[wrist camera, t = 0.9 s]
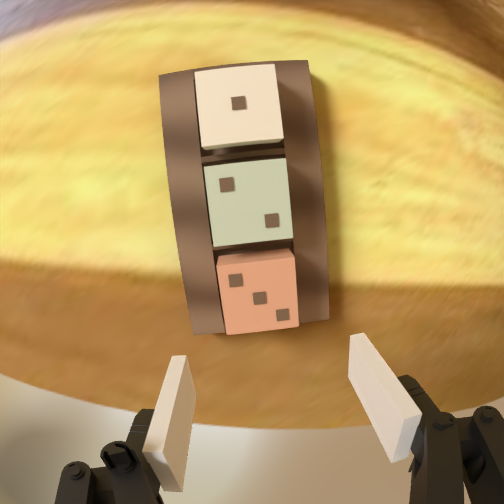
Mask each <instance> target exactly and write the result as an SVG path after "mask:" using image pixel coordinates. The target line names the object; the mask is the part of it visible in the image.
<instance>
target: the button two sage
mask: <svg viewBox="0 0 504 504" xmlns="http://www.w3.org/2000/svg"><path fill="white" fill-rule="evenodd" d="M204 173H205V182H206V190H207V198H208V206H209V214H210V222H211V230H212V237H213V245H214V247H217V246H225V245H234V244H243V243H252V242H261V241H270V240H279V239H288V238H293V230H292V218H291V207H290V196H289V185H288V175H287V165H286V158H281V159H270V160H259V161H249V162H240V163H231V164H222V165H214V166H207V167H204Z"/></svg>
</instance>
